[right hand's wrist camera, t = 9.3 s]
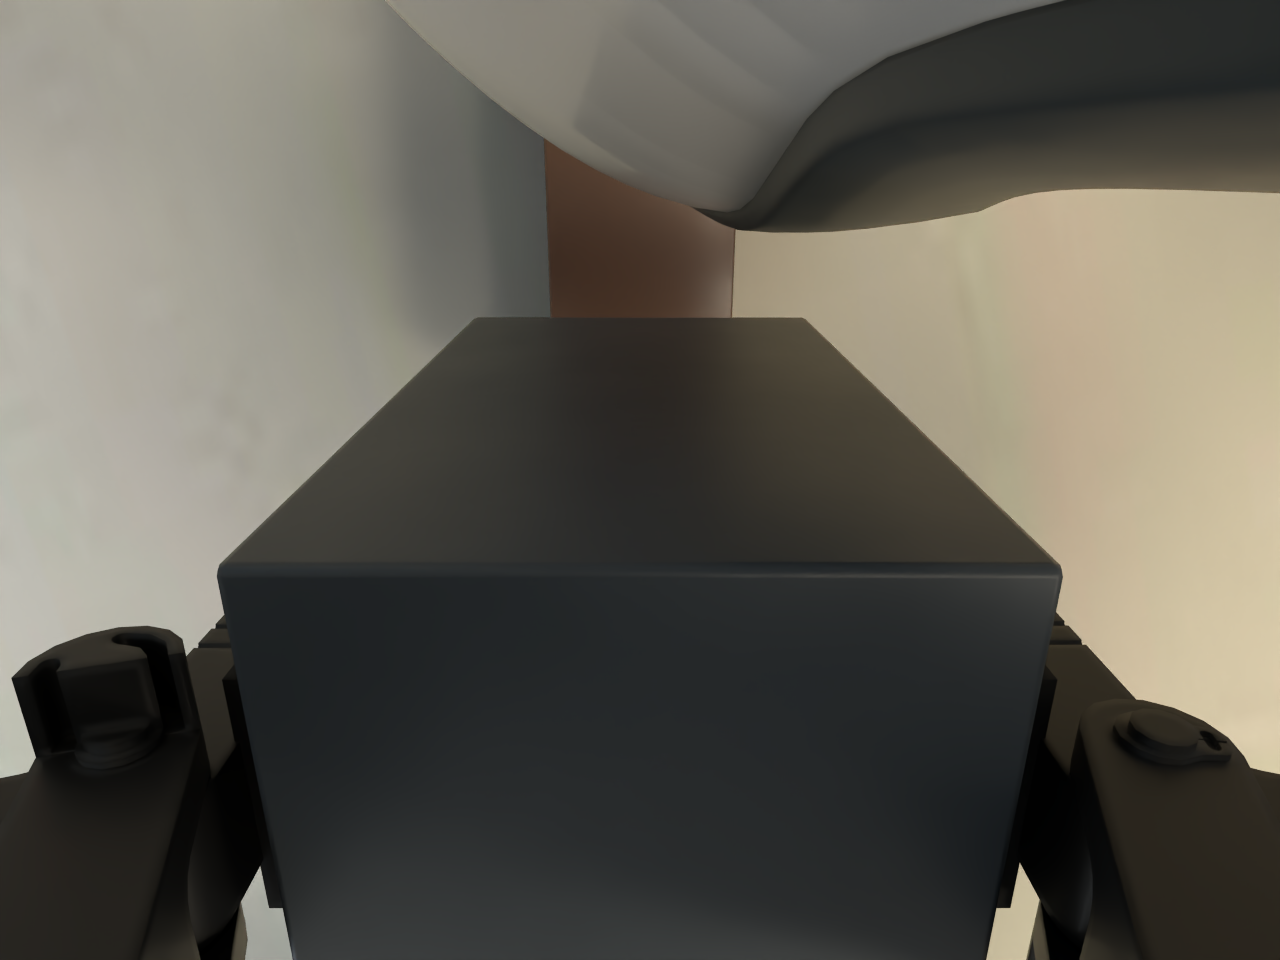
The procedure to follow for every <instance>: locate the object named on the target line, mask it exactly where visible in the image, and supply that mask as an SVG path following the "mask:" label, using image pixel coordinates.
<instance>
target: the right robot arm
mask: <svg viewBox="0 0 1280 960" xmlns="http://www.w3.org/2000/svg"><path fill="white" fill-rule="evenodd" d="M1081 641H1082V640H1081V639H1080V638H1079V637H1078V636H1077V635H1076V633H1075V632H1074V631H1073V630H1072V629H1071V628H1070V627H1069V626H1065V625H1064V620H1063V619H1062V618H1061V617H1060V616H1059V615H1058V614H1057V613H1055V618H1054V623H1053V628H1052V633H1051V638H1050V643H1049V648H1048V653H1047V658H1046V663H1045V668H1044V673H1043V678H1042V683H1041V688H1040V693H1039V698H1038V703H1037V708H1036V713H1035V718H1034V723H1033V728H1032V733H1031V738H1030V743H1029V748H1028V753H1027V758H1026V763H1025V768H1024V773H1023V778H1022V783H1021V788H1020V793H1019V798H1018V803H1017V808H1016V813H1015V818H1014V823H1013V828H1012V833H1011V838H1010V843H1009V848H1008V853H1007V858H1006V863H1005V868H1004V873H1003V878H1002V883H1001V887H1000V892H999V897H998V902H997V907H996V908H1010V907H1011V902H1012V897H1013V892H1014V887H1015V882H1016V878H1017V873H1018V868H1019V863H1020V864H1021V865H1022V867H1023V869H1024V871H1025V873H1026V875H1027V877H1028V878H1029V880H1030V882H1031V884H1032V886H1033V888H1034V890H1035V891H1036V893H1037V895H1038V897H1039V899H1040V900H1039V905H1038V909H1037V914H1036V918H1035V923H1034V927H1033V932H1032V936H1031V941H1030V945H1029V950H1028V954H1027V959H1026V960H1280V774H1275V773H1270V772H1265V771H1261V770H1257V769H1253V768H1250V766H1249V765H1248V763H1247V761H1246V759H1245V757H1244V756H1243V754H1242V753H1241V752H1240V751H1239V750H1238V749H1237V747H1236V746H1235V745H1234V744H1233V743H1232V741H1231V740H1230V739H1229V738H1228V737H1226V736H1225V735H1223V734H1222V733H1221V732H1219V731H1218V730H1216V729H1215V728H1213V727H1212V726H1210V725H1209V724H1207V723H1206V722H1204V721H1203V720H1200V719H1198V718H1196V717H1193V716H1191V715H1189V714H1186V713H1184V712H1182V711H1180V710H1177V709H1175V708H1172V707H1168V706H1164V705H1160V704H1156V703H1152V702H1148V701H1144V700H1136V699H1135V698H1134V697H1133V696H1132V694H1131V693H1130V692H1129V691H1128V690H1127V689H1126V688H1125V687H1124V686H1123V685H1122V684H1121V682H1120V681H1119V680H1118V679H1117V678H1116V677H1115V676H1114V675H1113V674H1112V673H1111V672H1110V670H1109V669H1108V668H1107V667H1106V666H1105V665H1104V664H1103V663H1102V662H1101V661H1100V660H1099V658H1098V657H1097V656H1096V655H1095V654H1094V653H1093V652H1092V651H1091V650H1090V649H1089V648H1088V646H1087V645H1082V643H1081ZM198 644H199V646H198V648H194V649H193V650H192V651H191V652H190V653H189V654H188V655H187V656H186V654H185V649H184V645H183V640H182V638H180V637H179V636H177V635H176V634H175V633H173V632H172V631H170V630H168V629H162V628H156V627H151V626H136V627H118V628H114V629H109V630H104V631H100V632H95V633H90V634H86V635H83V636H81V637H78V638H75V639H73V640H70V641H67V642H65V643H62V644H59V645H56V646H54V647H52V648H51V649H49V650H47V651H46V652H44V653H42V654H40V655H39V656H37V657H35V658H33V659H32V660H30V661H28V662H27V663H26V664H25V665H24V666H23V667H22V668H21V669H20V670H19V671H18V672H17V673H16V674H15V675H14V676H13V677H12V678H11V679H12V682H13V685H14V688H15V691H16V695H17V698H18V701H19V704H20V707H21V711H22V714H23V717H24V720H25V723H26V727H27V730H28V733H29V736H30V739H31V743H32V746H33V749H34V752H35V755H36V759H35V761H34V762H33V764H32V766H31V768H30V770H29V772H27V773H23V774H19V775H14V776H9V777H4V778H0V960H245V955H246V948H247V940H248V939H247V932H246V924H245V918H244V914H243V909H242V905H241V900H242V899H243V897H244V895H245V893H246V891H247V889H248V887H249V886H250V884H251V882H252V880H253V878H254V876H255V874H256V873H257V871H258V869H259V867H260V866H261V871H262V876H263V881H264V885H265V890H266V895H267V900H268V905H269V908H283V907H282V902H281V897H280V892H279V886H278V881H277V876H276V871H275V866H274V861H273V856H272V851H271V846H270V841H269V836H268V831H267V826H266V821H265V816H264V811H263V806H262V801H261V796H260V791H259V786H258V781H257V776H256V771H255V766H254V760H253V755H252V750H251V745H250V740H249V735H248V730H247V725H246V720H245V715H244V710H243V705H242V700H241V695H240V690H239V685H238V680H237V675H236V670H235V665H234V660H233V655H232V650H231V645H230V640H229V634H228V629H227V624H226V619H225V615H224V616H223V617H222V618H221V619H220V620H219V621H218V622H217V623H216V628H215V629H211V630H210V631H209V632H208V633H207V634H206V635H205V637H204V638H203V639H202V640H201V641H200V642H199V643H198Z"/></svg>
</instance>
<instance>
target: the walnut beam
mask: <svg viewBox="0 0 1280 960" xmlns="http://www.w3.org/2000/svg"><path fill="white" fill-rule="evenodd" d="M544 153H545V180H546V207H547V234H548V260H549V287H550V314H551V318H732V302H733V278H734V253H735V229H734V228H731V227H728V226H725V225H723V224H721V223H718V222H716V221H714V220H713V219H711V218H709V217H707V216H705V215H704V214H702V213H700V212H699V211H697V210H695V209H694V208H692V207H691V206H688V205H685V204H682V203H678V202H675V201H671V200H667V199H664V198H660V197H657V196H654V195H652V194H649V193H647V192H644V191H641V190H639V189H636V188H634V187H631V186H628V185H626V184H624V183H622V182H620V181H618V180H616V179H614V178H612V177H610V176H608V175H606V174H604V173H601V172H599V171H597V170H595V169H594V168H592V167H590V166H588V165H587V164H585V163H583V162H582V161H580V160H578V159H576V158H575V157H573V156H571V155H570V154H568V153H566V152H564V151H563V150H561V149H560V148H558V147H557V146H555V145H554V144H552V143H551V142H549V141H548V140H546V139H545V138H544Z"/></svg>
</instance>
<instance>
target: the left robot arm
mask: <svg viewBox="0 0 1280 960" xmlns="http://www.w3.org/2000/svg"><path fill="white" fill-rule="evenodd" d="M385 1H386V2H387V3H388V4H389V5H390V6H391V7H392V8H393V9H394V10H395V11H396V13H397V14H398V15H399V16H400V17H401V18H402V19H403V20H404V21H405V22H406V23H407V24H408V25H409V26H410V27H411V28H412V29H413V30H414V31H415V32H416V33H417V34H418V35H419V36H421V37H422V38H423V39H424V40H425V41H426V42H427V43H428V44H429V45H430V46H431V47H432V48H433V49H434V50H435V51H437V52H438V53H439V54H440V55H441V56H442V57H443V58H444V59H445V60H446V61H447V62H448V63H449V64H450V65H452V66H453V67H454V68H455V69H456V70H457V71H459V72H460V73H461V74H462V75H463V76H464V77H466V78H467V79H468V80H469V81H470V82H472V83H473V84H474V85H475V86H476V87H477V88H479V89H480V90H481V91H482V92H483V93H485V94H486V95H487V96H488V97H489V98H490V99H492V100H493V101H494V102H496V103H497V104H498V105H500V106H501V107H502V108H503V109H505V110H506V111H507V112H509V113H510V114H511V115H513V116H514V117H515V118H517V119H518V120H519V121H521V122H522V123H523V124H524V125H526V126H527V127H529V128H530V129H532V130H533V131H534V132H536V133H537V134H539V135H540V136H542V137H543V138H545V139H546V140H548V141H549V142H551V143H552V144H554V145H555V146H557V147H558V148H560V149H561V150H563V151H564V152H566V153H568V154H570V155H571V156H573V157H575V158H576V159H578V160H580V161H582V162H583V163H585V164H587V165H588V166H590V167H592V168H594V169H595V170H597V171H599V172H601V173H604V174H606V175H608V176H610V177H612V178H614V179H616V180H618V181H620V182H622V183H624V184H626V185H628V186H631V187H634V188H636V189H639V190H641V191H644V192H647V193H649V194H652V195H654V196H657V197H660V198H664V199H667V200H671V201H675V202H678V203H682V204H685V205H688V206H691V207H692V208H694V209H695V210H697V211H699V212H700V213H702V214H704V215H705V216H707V217H709V218H711V219H713V220H714V221H716V222H718V223H721V224H723V225H725V226H728V227H731V228H734V229H737V230H745V231H760V232H834V231H845V230H856V229H868V228H876V227H883V226H891V225H899V224H907V223H915V222H922V221H928V220H933V219H939V218H945V217H951V216H956V215H962V214H968V213H974V212H978V211H981V210H984V209H986V208H988V207H990V206H993V205H995V204H997V203H1000V202H1002V201H1005V200H1008V199H1011V198H1014V197H1018V196H1022V195H1027V194H1032V193H1037V192H1047V191H1056V190H1073V189H1169V190H1204V191H1233V192H1262V193H1280V0H385Z"/></svg>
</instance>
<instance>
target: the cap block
mask: <svg viewBox="0 0 1280 960" xmlns="http://www.w3.org/2000/svg"><path fill="white" fill-rule="evenodd" d="M1062 578H1063V575H1062V570H1061V566H1060V565H1059V564H1058V563H1057V562H1056V561H1055V560H1054V559H1053V558H1052V557H1051V556H1050V555H1049V554H1048V553H1047V552H1046V551H1045V550H1044V549H1043V548H1042V547H1041V546H1040V545H1039V544H1038V543H1037V542H1036V541H1035V540H1034V539H1032V538H1031V537H1030V536H1029V535H1028V534H1027V533H1026V532H1025V531H1024V530H1023V529H1022V528H1021V527H1020V526H1019V525H1018V524H1017V523H1016V522H1015V521H1014V520H1013V519H1012V518H1011V517H1010V516H1009V515H1008V514H1007V513H1006V512H1005V511H1003V510H1002V509H1001V508H1000V507H999V506H998V505H997V504H996V503H995V502H994V501H993V500H992V499H991V498H990V497H989V496H988V495H987V494H986V493H985V492H984V491H983V490H982V489H981V488H980V487H979V486H978V485H977V484H976V483H974V482H973V481H972V480H971V479H970V478H969V477H968V476H967V475H966V474H965V473H964V472H963V471H962V470H961V469H960V468H959V467H958V466H957V465H956V464H955V463H954V462H953V461H952V460H951V459H950V458H949V457H948V456H947V455H946V454H944V453H943V452H942V451H941V450H940V449H939V448H938V447H937V446H936V445H935V444H934V443H933V442H932V441H931V440H930V439H929V438H928V437H927V436H926V435H925V434H924V433H923V432H922V431H921V430H920V429H919V428H918V427H917V426H915V425H914V424H913V423H912V422H911V421H910V420H909V419H908V418H907V417H906V416H905V415H904V414H903V413H902V412H901V411H900V410H899V409H898V408H897V407H896V406H895V405H894V404H893V403H892V402H891V401H890V400H889V399H888V398H886V397H885V396H884V395H883V394H882V393H881V392H880V391H879V390H878V389H877V388H876V387H875V386H874V385H873V384H872V383H871V382H870V381H869V380H868V379H867V378H866V377H865V376H864V375H863V374H862V373H861V372H860V371H859V370H857V369H856V368H855V367H854V366H853V365H852V364H851V363H850V362H849V361H848V360H847V359H846V358H845V357H844V356H843V355H842V354H841V353H840V352H839V351H838V350H837V349H836V348H835V347H834V346H833V345H832V344H831V343H830V342H829V341H827V340H826V339H825V338H824V337H823V336H822V335H821V334H820V333H819V332H818V331H817V330H816V329H815V328H814V327H813V326H812V325H811V324H810V323H809V322H808V321H807V320H806V319H804V318H538V317H478V318H475V319H474V320H473V321H472V322H471V323H470V324H469V325H467V326H466V327H465V328H464V329H463V330H462V331H461V332H460V333H459V334H458V335H457V336H456V337H455V338H454V339H453V340H452V341H451V342H450V343H449V344H448V345H447V346H446V347H445V348H444V349H443V350H442V351H441V352H439V353H438V354H437V355H436V356H435V357H434V358H433V359H432V360H431V361H430V362H429V363H428V364H427V365H426V366H425V367H424V368H423V369H422V370H421V371H420V372H419V373H418V374H417V375H416V376H415V377H414V378H413V379H411V380H410V381H409V382H408V383H407V384H406V385H405V386H404V387H403V388H402V389H401V390H400V391H399V392H398V393H397V394H396V395H395V396H394V397H393V398H392V399H391V400H390V401H389V402H388V403H387V404H386V405H385V406H383V407H382V408H381V409H380V410H379V411H378V412H377V413H376V414H375V415H374V416H373V417H372V418H371V419H370V420H369V421H368V422H367V423H366V424H365V425H364V426H363V427H362V428H361V429H360V430H359V431H358V432H357V433H355V434H354V435H353V436H352V437H351V438H350V439H349V440H348V441H347V442H346V443H345V444H344V445H343V446H342V447H341V448H340V449H339V450H338V451H337V452H336V453H335V454H334V455H333V456H332V457H331V458H330V459H329V460H327V461H326V462H325V463H324V464H323V465H322V466H321V467H320V468H319V469H318V470H317V471H316V472H315V473H314V474H313V475H312V476H311V477H310V478H309V479H308V480H307V481H306V482H305V483H304V484H303V485H302V486H301V487H299V488H298V489H297V490H296V491H295V492H294V493H293V494H292V495H291V496H290V497H289V498H288V499H287V500H286V501H285V502H284V503H283V504H282V505H281V506H280V507H279V508H278V509H277V510H276V511H275V512H274V513H273V514H271V515H270V516H269V517H268V518H267V519H266V520H265V521H264V522H263V523H262V524H261V525H260V526H259V527H258V528H257V529H256V530H255V531H254V532H253V533H252V534H251V535H250V536H249V537H248V538H247V539H246V540H245V541H243V542H242V543H241V544H240V545H239V546H238V547H237V548H236V549H235V550H234V551H233V552H232V553H231V554H230V555H229V556H228V557H227V558H226V559H225V560H224V561H223V562H222V563H221V564H220V565H219V568H218V572H217V579H218V584H219V589H220V594H221V599H222V604H223V609H224V614H225V619H226V624H227V629H228V634H229V640H230V645H231V650H232V655H233V660H234V665H235V670H236V675H237V680H238V685H239V690H240V695H241V700H242V705H243V710H244V715H245V720H246V725H247V730H248V735H249V740H250V745H251V750H252V755H253V760H254V766H255V771H256V776H257V781H258V786H259V791H260V796H261V801H262V806H263V811H264V816H265V821H266V826H267V831H268V836H269V841H270V846H271V851H272V856H273V861H274V866H275V871H276V876H277V881H278V886H279V892H280V897H281V902H282V907H283V912H284V917H285V922H286V927H287V932H288V937H289V942H290V947H291V952H292V957H293V960H986V957H987V952H988V947H989V942H990V937H991V932H992V927H993V922H994V917H995V912H996V907H997V902H998V897H999V892H1000V887H1001V883H1002V878H1003V873H1004V868H1005V863H1006V858H1007V853H1008V848H1009V843H1010V838H1011V833H1012V828H1013V823H1014V818H1015V813H1016V808H1017V803H1018V798H1019V793H1020V788H1021V783H1022V778H1023V773H1024V768H1025V763H1026V758H1027V753H1028V748H1029V743H1030V738H1031V733H1032V728H1033V723H1034V718H1035V713H1036V708H1037V703H1038V698H1039V693H1040V688H1041V683H1042V678H1043V673H1044V668H1045V663H1046V658H1047V653H1048V648H1049V643H1050V638H1051V633H1052V628H1053V623H1054V618H1055V613H1056V608H1057V603H1058V598H1059V593H1060V588H1061V583H1062Z"/></svg>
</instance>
